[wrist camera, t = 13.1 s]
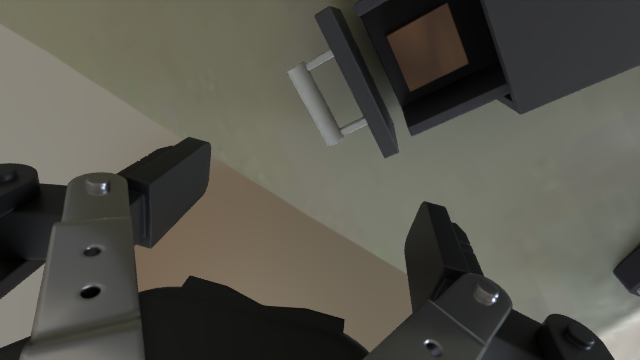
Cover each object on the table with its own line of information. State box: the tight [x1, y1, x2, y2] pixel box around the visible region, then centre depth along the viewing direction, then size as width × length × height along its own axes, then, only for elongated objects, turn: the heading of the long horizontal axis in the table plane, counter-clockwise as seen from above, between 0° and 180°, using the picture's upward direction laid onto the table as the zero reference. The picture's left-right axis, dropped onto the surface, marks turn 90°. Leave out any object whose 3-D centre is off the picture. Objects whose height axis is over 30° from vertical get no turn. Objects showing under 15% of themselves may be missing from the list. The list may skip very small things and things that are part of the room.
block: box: [385, 2, 469, 92], centre depth 26 cm, size 4×4×4 cm
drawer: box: [287, 0, 510, 158], centre depth 26 cm, size 18×11×8 cm, turn 119°
